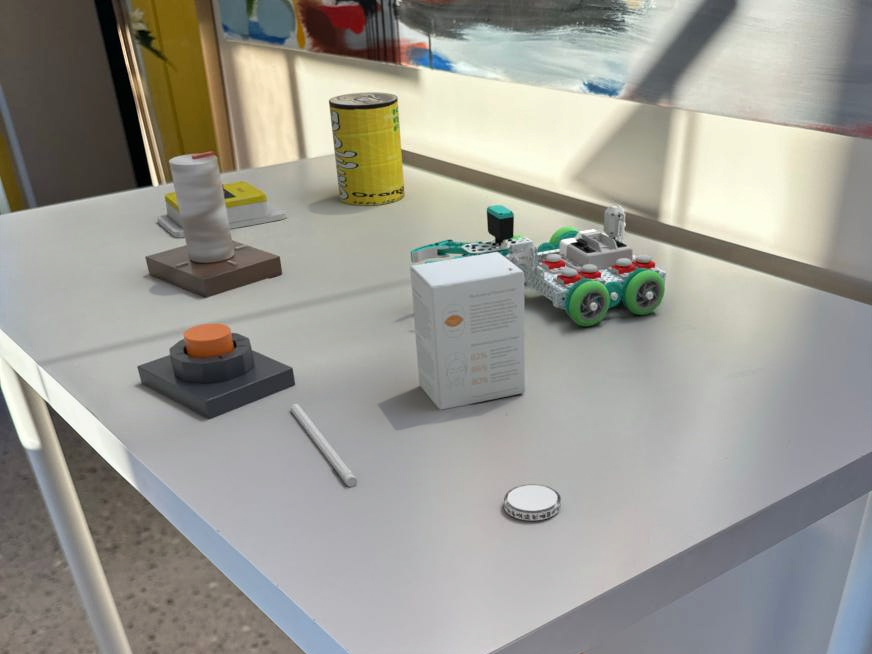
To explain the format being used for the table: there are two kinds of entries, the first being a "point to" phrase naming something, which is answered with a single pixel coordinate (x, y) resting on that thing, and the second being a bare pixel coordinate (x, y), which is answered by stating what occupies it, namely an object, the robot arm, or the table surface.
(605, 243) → the robot kit
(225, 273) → the dial panel
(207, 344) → the push knob
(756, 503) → the table surface
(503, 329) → the small box
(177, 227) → the yellow box on plate
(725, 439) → the table surface
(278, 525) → the table surface
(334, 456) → the white rod
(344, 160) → the beverage can
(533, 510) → the white flat disc
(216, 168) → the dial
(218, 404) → the button housing
